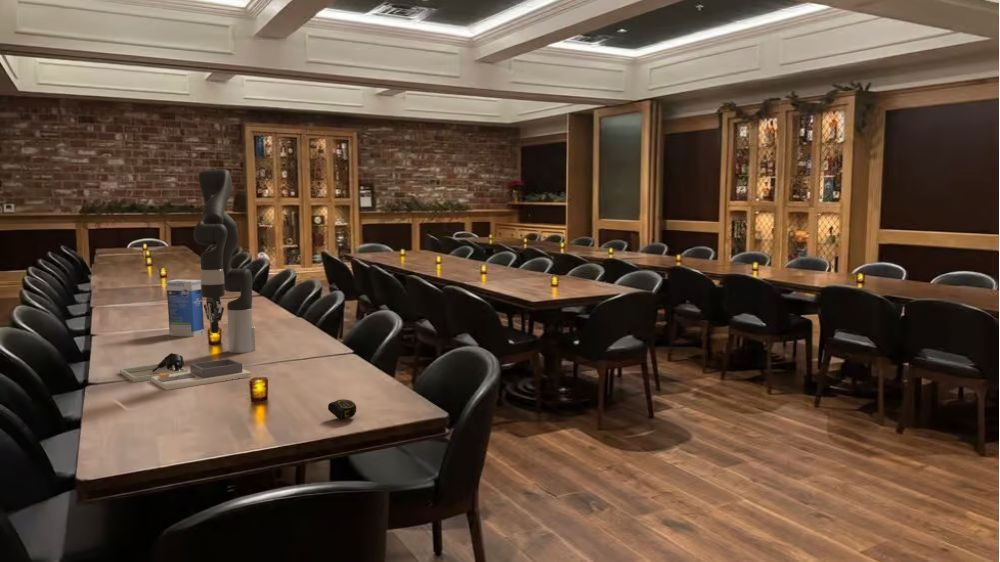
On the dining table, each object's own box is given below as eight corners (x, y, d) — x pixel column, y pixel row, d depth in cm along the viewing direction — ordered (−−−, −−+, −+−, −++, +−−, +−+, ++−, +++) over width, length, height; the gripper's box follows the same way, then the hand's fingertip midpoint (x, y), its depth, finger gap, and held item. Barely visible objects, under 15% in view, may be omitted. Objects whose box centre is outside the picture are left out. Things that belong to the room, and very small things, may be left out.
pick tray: (172, 366, 270) (171, 362, 270) (188, 374, 257) (188, 370, 257) (119, 373, 259) (119, 369, 259) (133, 382, 246) (133, 377, 245)
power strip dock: (233, 368, 265) (233, 356, 265) (251, 376, 253) (250, 363, 253) (151, 381, 247) (150, 368, 247) (166, 390, 235) (165, 376, 235)
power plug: (158, 371, 263) (185, 353, 262) (162, 388, 259) (189, 369, 258) (146, 366, 259) (173, 347, 258) (150, 383, 254) (177, 364, 253)
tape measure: (326, 412, 205) (327, 400, 204) (348, 409, 209) (349, 397, 209) (337, 423, 200) (338, 410, 199) (359, 419, 204) (360, 406, 203)
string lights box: (204, 336, 332) (202, 279, 329) (193, 339, 324) (191, 281, 322) (180, 335, 335) (177, 279, 333) (168, 338, 328) (165, 280, 325)
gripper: (231, 283, 248) (232, 334, 249) (216, 280, 258) (218, 329, 259) (208, 284, 243) (210, 336, 244) (194, 281, 253) (196, 331, 254)
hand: (214, 332), depth 252 cm, fingers closed
